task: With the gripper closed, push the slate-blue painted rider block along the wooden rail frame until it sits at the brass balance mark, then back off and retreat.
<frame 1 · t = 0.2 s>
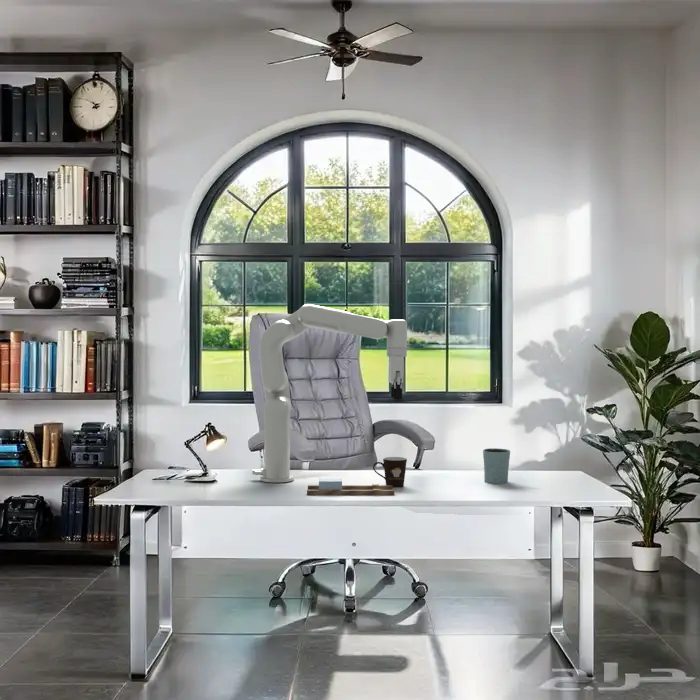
hand: (396, 398, 339), 31 cm above the table, tool pointing down, fingers open, 9 cm apart
rider: (330, 492, 315), on the table
wooden rail frame: (350, 492, 316), on the table
coffee mug: (390, 486, 329), on the table
green tapered cup: (496, 482, 338), on the table
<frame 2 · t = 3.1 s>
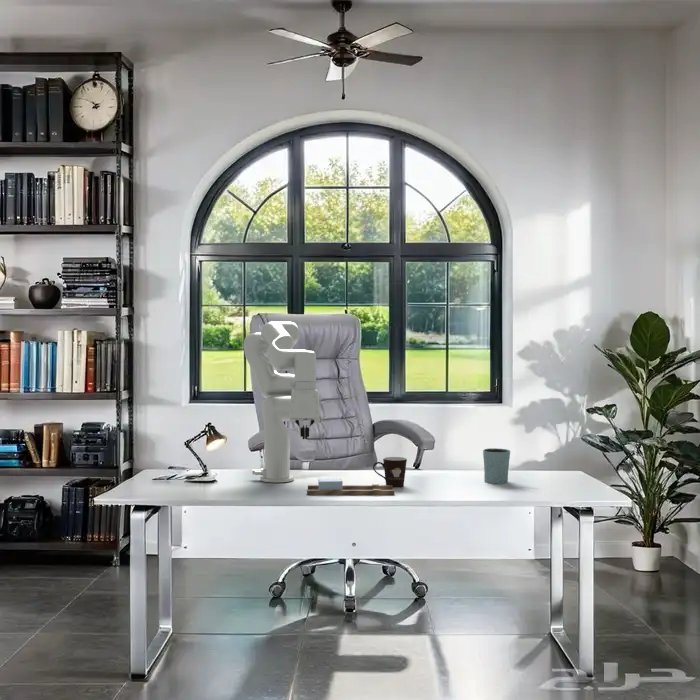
hand: (304, 438, 315), 19 cm above the table, tool pointing down, fingers closed
nothing on the table moved.
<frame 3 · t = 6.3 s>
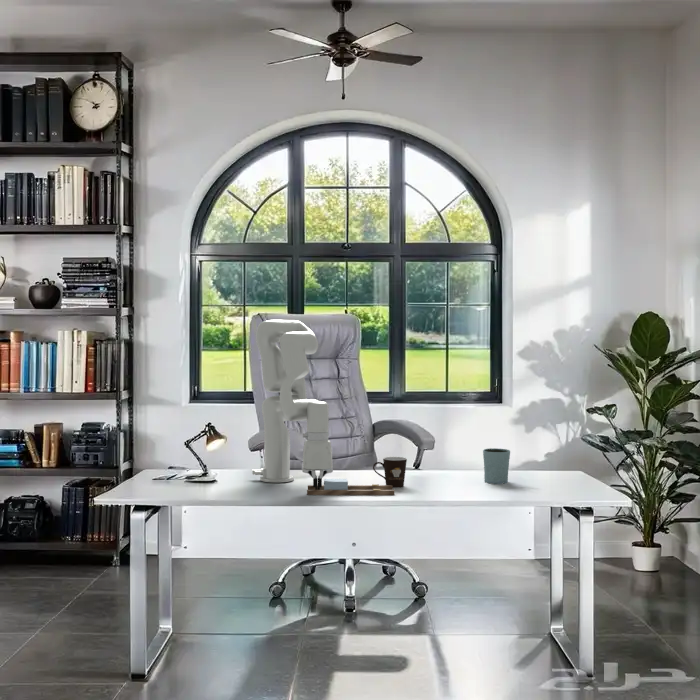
hand: (317, 489, 315), 1 cm above the table, tool pointing down, fingers closed
rider: (335, 493, 315), on the table
everything else where it was.
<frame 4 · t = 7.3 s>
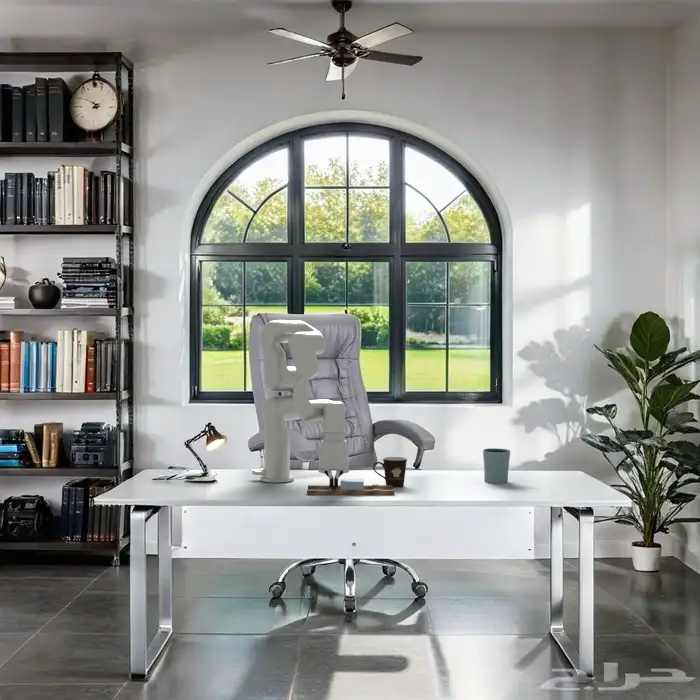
hand: (333, 489, 315), 1 cm above the table, tool pointing down, fingers closed
rider: (352, 492, 315), on the table
everything else where it was.
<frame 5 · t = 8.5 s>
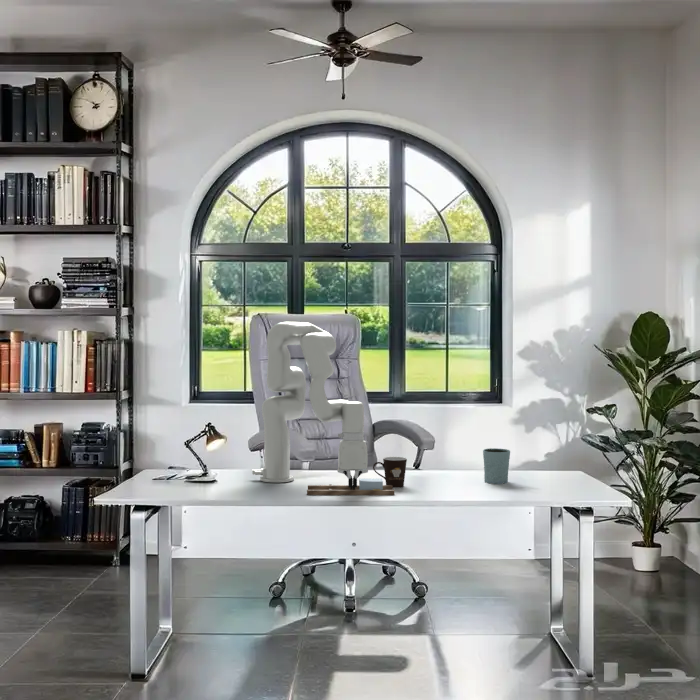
hand: (352, 489, 316), 1 cm above the table, tool pointing down, fingers closed
rider: (370, 492, 316), on the table
everything else where it was.
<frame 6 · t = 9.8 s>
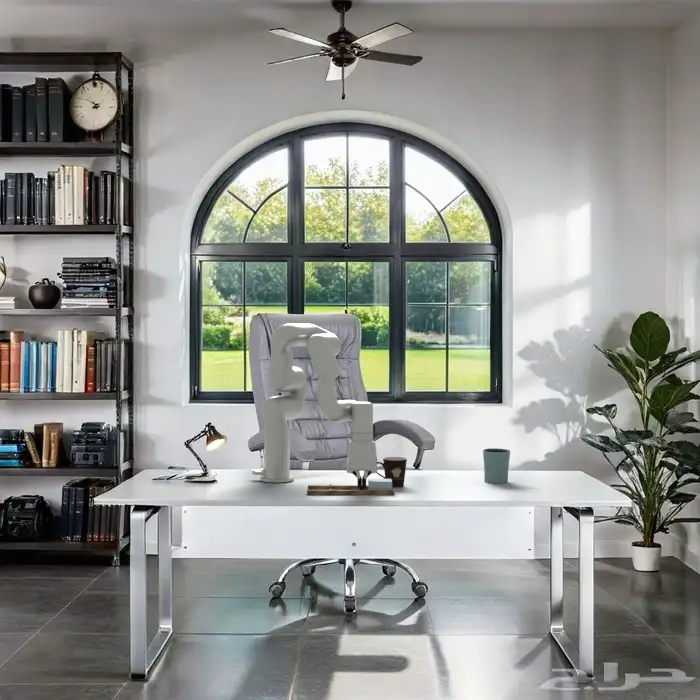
hand: (361, 489, 316), 1 cm above the table, tool pointing down, fingers closed
rider: (380, 492, 316), on the table, touching gripper
everything else where it was.
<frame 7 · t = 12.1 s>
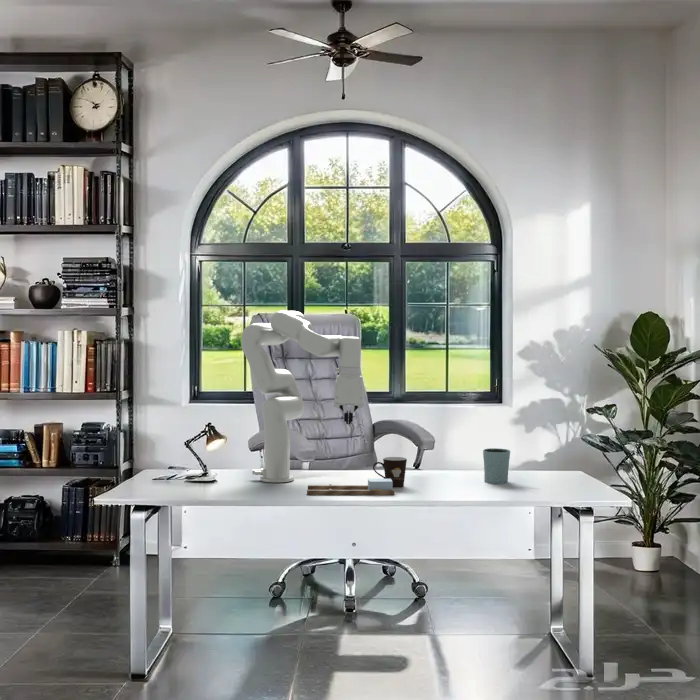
hand: (348, 423, 318), 24 cm above the table, tool pointing down, fingers closed
rider: (380, 492, 316), on the table
everything else where it was.
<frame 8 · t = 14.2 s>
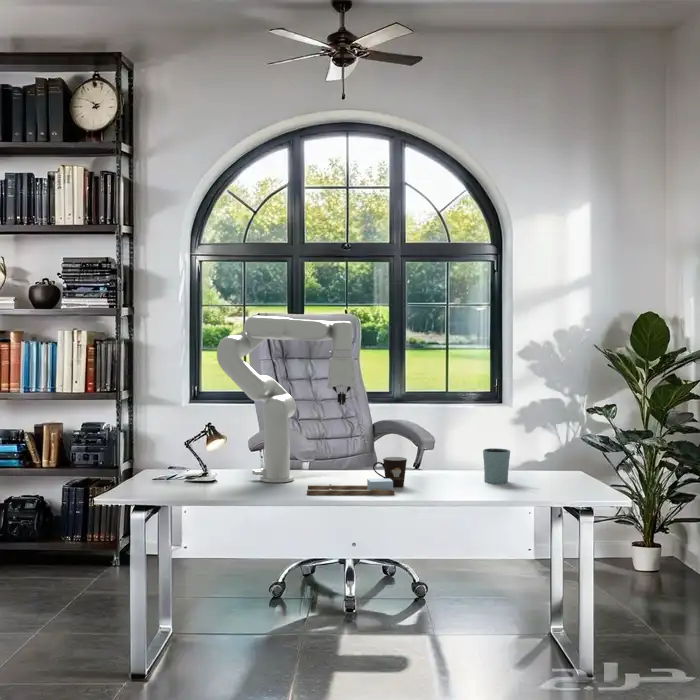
hand: (341, 404, 333), 29 cm above the table, tool pointing down, fingers closed
nothing on the table moved.
at the end: rider inside the target area (0.4 cm from its centre), on the table; rider tilted 0°; the gripper is holding nothing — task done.
